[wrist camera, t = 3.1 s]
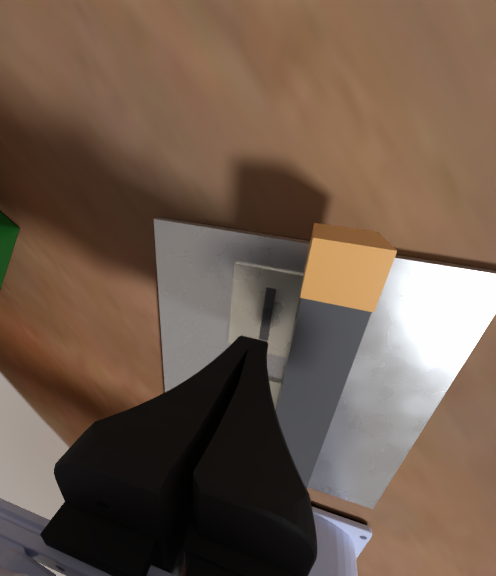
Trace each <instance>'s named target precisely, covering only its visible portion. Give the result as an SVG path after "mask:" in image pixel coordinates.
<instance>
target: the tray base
mask: <svg viewBox="0 0 496 576" xmlns="http://www.w3.org/2000/svg"><path fill="white" fill-rule="evenodd" d="M154 233H155V248H156V263H157V278H158V293H159V308H160V324H161V339H162V354H163V369H164V384H165V392H167V391H169V390H170V389H172V388H174V387H176V386H177V385H179V384H181V383H182V382H184V381H185V380H187V379H189V378H190V377H192V376H193V375H194V374H196V373H197V372H199V371H200V370H201V369H203V368H204V367H205V366H207V365H208V364H209V363H211V362H212V361H213V360H214V359H215V358H217V357H218V356H219V355H220V354H221V353H222V352H223V351H225V350H226V349H227V348H228V347H229V346H230V345H231V344H232V343H233V342H234V341H235V340H236V339H237V338H238V337H239V336H241V335H242V336H246V337H250V338H254V339H259V340H263V341H267V343H268V350H267V369H268V378H269V384H270V389H271V394H272V399H273V403H274V407H275V409H276V405H277V400H278V395H279V391H280V386H281V381H282V377H283V372H284V367H285V363H286V358H287V353H288V349H289V344H290V339H291V335H292V330H293V325H294V321H295V316H296V311H297V307H298V302H299V298H300V293H301V288H302V281H303V274H304V268H305V264H306V259H307V254H308V249H309V245H310V241H308V240H302V239H295V238H289V237H283V236H276V235H270V234H264V233H258V232H251V231H245V230H239V229H232V228H226V227H220V226H214V225H207V224H201V223H195V222H188V221H182V220H176V219H170V218H163V217H158V218H155V219H154ZM495 313H496V270H490V269H484V268H477V267H471V266H465V265H459V264H452V263H446V262H440V261H433V260H427V259H421V258H415V257H408V256H402V255H396V256H395V258H394V261H393V264H392V266H391V269H390V272H389V274H388V277H387V280H386V282H385V285H384V288H383V290H382V293H381V296H380V298H379V301H378V304H377V306H376V309H375V312H372V313H371V316H370V319H369V321H368V324H367V327H366V329H365V332H364V335H363V337H362V340H361V343H360V346H359V348H358V351H357V354H356V356H355V359H354V362H353V364H352V367H351V370H350V373H349V375H348V378H347V381H346V383H345V386H344V389H343V391H342V394H341V397H340V400H339V402H338V405H337V408H336V410H335V413H334V416H333V418H332V421H331V424H330V427H329V429H328V432H327V435H326V437H325V440H324V443H323V445H322V448H321V451H320V454H319V456H318V459H317V462H316V464H315V467H314V470H313V472H312V475H311V478H310V481H309V483H308V486H307V487H309V488H311V489H314V490H317V491H320V492H323V493H326V494H329V495H332V496H335V497H338V498H341V499H344V500H347V501H350V502H353V503H356V504H359V505H362V506H365V507H368V508H371V509H373V508H374V506H375V505H376V503H377V501H378V500H379V498H380V497H381V495H382V494H383V492H384V490H385V489H386V487H387V486H388V484H389V482H390V481H391V479H392V478H393V476H394V474H395V473H396V471H397V470H398V468H399V466H400V465H401V463H402V462H403V460H404V458H405V457H406V455H407V454H408V452H409V450H410V449H411V447H412V446H413V444H414V442H415V441H416V439H417V438H418V436H419V434H420V433H421V431H422V430H423V428H424V426H425V425H426V423H427V422H428V420H429V418H430V417H431V415H432V414H433V412H434V410H435V409H436V407H437V406H438V404H439V402H440V401H441V399H442V398H443V396H444V394H445V393H446V391H447V390H448V388H449V386H450V385H451V383H452V382H453V380H454V378H455V377H456V375H457V374H458V372H459V370H460V369H461V367H462V366H463V364H464V362H465V361H466V359H467V358H468V356H469V354H470V353H471V351H472V350H473V348H474V346H475V345H476V343H477V342H478V340H479V338H480V337H481V335H482V334H483V332H484V330H485V329H486V327H487V326H488V324H489V322H490V321H491V319H492V318H493V316H494V314H495Z"/></svg>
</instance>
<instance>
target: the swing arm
mask: <svg viewBox="0 0 496 576" xmlns="http://www.w3.org/2000/svg"><path fill="white" fill-rule="evenodd" d="M396 253H397V250H396V249H395V248H394V247H393V246H392V245H391V244H390V243H389V242H388V241H387V240H386V239H385V238H384V237H383V236H382V235H381V234H380V233H379V232H374V231H367V230H360V229H353V228H347V227H340V226H333V225H326V224H319V223H314V226H313V231H312V235H311V240H310V245H309V249H308V254H307V259H306V264H305V268H304V274H303V281H302V288H301V293H300V298H299V302H298V307H297V311H296V316H295V321H294V325H293V330H292V335H291V339H290V344H289V349H288V353H287V358H286V363H285V367H284V372H283V377H282V381H281V386H280V391H279V395H278V400H277V405H276V409H275V411H276V414H277V417H278V421H279V424H280V427H281V430H282V432H283V435H284V438H285V441H286V443H287V446H288V449H289V451H290V454H291V456H292V458H293V461H294V463H295V465H296V468H297V470H298V472H299V474H300V476H301V479H302V481H303V483H304V485H305V487H306V489H307V486H308V483H309V481H310V478H311V475H312V472H313V470H314V467H315V464H316V462H317V459H318V456H319V454H320V451H321V448H322V445H323V443H324V440H325V437H326V435H327V432H328V429H329V427H330V424H331V421H332V418H333V416H334V413H335V410H336V408H337V405H338V402H339V400H340V397H341V394H342V391H343V389H344V386H345V383H346V381H347V378H348V375H349V373H350V370H351V367H352V364H353V362H354V359H355V356H356V354H357V351H358V348H359V346H360V343H361V340H362V337H363V335H364V332H365V329H366V327H367V324H368V321H369V319H370V316H371V313H372V312H375V309H376V306H377V304H378V301H379V298H380V296H381V293H382V290H383V288H384V285H385V282H386V280H387V277H388V274H389V272H390V269H391V266H392V264H393V261H394V258H395V256H396Z"/></svg>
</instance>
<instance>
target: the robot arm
mask: <svg viewBox="0 0 496 576" xmlns="http://www.w3.org/2000/svg"><path fill="white" fill-rule="evenodd" d="M267 350H268V343H267V341H263V340H259V339H254V338H250V337H246V336H242V335H241V336H239V337H238V338H237V339H236V340H235V341H234V342H233V343H232V344H231V345H230V346H229V347H228V348H227V349H226V350H225V351H223V352H222V353H221V354H220V355H219V356H218V357H217V358H215V359H214V360H213V361H212V362H211V363H209V364H208V365H207V366H205V367H204V368H203V369H201V370H200V371H199V372H197V373H196V374H194V375H193V376H192V377H190V378H189V379H187V380H185V381H184V382H182V383H181V384H179V385H177V386H176V387H174V388H172V389H170V390H169V391H167V392H165V393H163V394H161V395H159V396H157V397H155V398H153V399H151V400H149V401H147V402H145V403H142V404H140V405H138V406H136V407H134V408H131V409H129V410H126V411H124V412H121V413H118V414H115V415H113V416H110V417H107V418H105V419H102V420H99V421H96V422H94V423H93V424H92V425H91V426H90V427H89V428H88V429H87V430H86V431H85V432H84V433H83V434H82V435H81V436H80V437H79V438H78V439H77V441H76V442H75V443H74V444H73V445H72V446H71V447H70V448H69V449H68V451H67V452H66V453H65V454H64V455H63V456H62V457H61V458H60V459H59V461H58V462H57V463H56V464H55V468H54V475H55V479H56V481H57V484H58V486H59V488H60V491H61V493H62V495H63V498H64V500H65V502H64V504H63V505H62V506H61V508H60V509H59V510H58V511H57V513H56V514H55V515H54V517H53V518H52V519H51V520H48V519H46V518H44V517H41V516H39V515H37V514H35V513H32V512H30V511H28V510H25V509H23V508H21V507H19V506H17V505H14V504H12V503H10V502H7V501H5V500H3V499H1V498H0V576H56V575H55V574H54V573H52V572H51V571H50V570H48V569H47V568H45V567H44V566H42V565H41V564H43V565H45V566H47V567H49V568H51V569H54V570H56V571H58V572H60V573H62V574H64V575H66V576H181V573H182V570H183V566H184V563H185V576H358V573H357V563H356V559H357V557H358V556H359V554H360V553H361V551H362V550H363V548H364V547H365V545H366V544H367V543H368V541H369V540H370V538H371V537H372V530H371V528H370V527H369V526H367V525H364V524H361V523H358V522H355V521H352V520H350V519H347V518H344V517H341V516H338V515H335V514H332V513H330V512H327V511H324V510H321V509H318V508H315V507H312V506H311V502H310V497H309V493H308V491H307V489H306V487H305V485H304V483H303V481H302V479H301V476H300V474H299V472H298V470H297V468H296V465H295V463H294V461H293V458H292V456H291V454H290V451H289V449H288V446H287V443H286V441H285V438H284V435H283V432H282V430H281V427H280V424H279V421H278V417H277V414H276V411H275V407H274V403H273V399H272V394H271V389H270V384H269V378H268V369H267ZM36 561H37V562H36ZM38 562H39V563H41V564H39V563H38Z"/></svg>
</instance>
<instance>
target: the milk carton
mask: <svg viewBox="0 0 496 576" xmlns="http://www.w3.org/2000/svg"><path fill="white" fill-rule="evenodd" d="M18 232H19V228H18V227H17V226H16V225H15V224H14V223H13V222H11V221H10V220H9V219H8V218H7V217H6V216H4V215H3V214H2V213H1V212H0V289H1V286H2V283H3V280H4V277H5V273H6V270H7V267H8V264H9V261H10V257H11V254H12V251H13V248H14V245H15V242H16V238H17V235H18Z"/></svg>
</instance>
